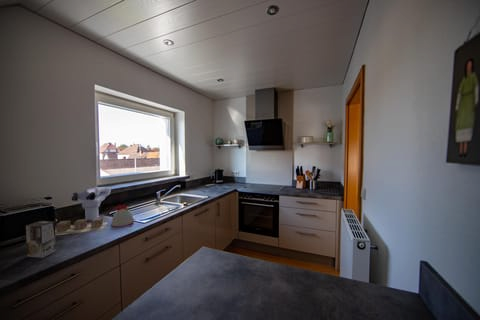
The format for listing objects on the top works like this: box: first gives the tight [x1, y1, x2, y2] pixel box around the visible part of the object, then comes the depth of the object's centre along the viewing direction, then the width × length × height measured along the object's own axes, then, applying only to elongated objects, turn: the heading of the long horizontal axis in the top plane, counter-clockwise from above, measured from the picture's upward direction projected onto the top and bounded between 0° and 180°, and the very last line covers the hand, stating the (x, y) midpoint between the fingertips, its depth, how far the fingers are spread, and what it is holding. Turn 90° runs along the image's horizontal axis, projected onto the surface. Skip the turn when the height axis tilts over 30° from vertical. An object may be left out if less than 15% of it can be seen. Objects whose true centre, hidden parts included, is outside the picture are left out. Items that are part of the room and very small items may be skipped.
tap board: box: [55, 221, 110, 236], centre depth 121 cm, size 16×28×1 cm, turn 113°
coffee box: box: [25, 220, 57, 259], centre depth 92 cm, size 9×6×16 cm
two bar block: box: [90, 217, 104, 228], centre depth 125 cm, size 5×5×5 cm
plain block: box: [55, 220, 71, 232], centre depth 118 cm, size 5×5×5 cm
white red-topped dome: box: [110, 204, 135, 228], centre depth 131 cm, size 14×14×15 cm
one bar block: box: [73, 218, 88, 230], centre depth 121 cm, size 5×5×5 cm
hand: (79, 198), depth 120 cm, fingers open, 7 cm apart
